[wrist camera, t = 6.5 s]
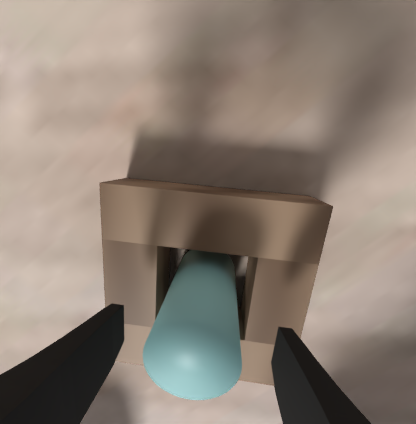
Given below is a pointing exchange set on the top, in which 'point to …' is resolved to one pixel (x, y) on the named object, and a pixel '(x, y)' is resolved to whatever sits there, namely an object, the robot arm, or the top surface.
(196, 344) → the dowel
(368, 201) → the top surface
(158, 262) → the socket block
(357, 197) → the top surface
